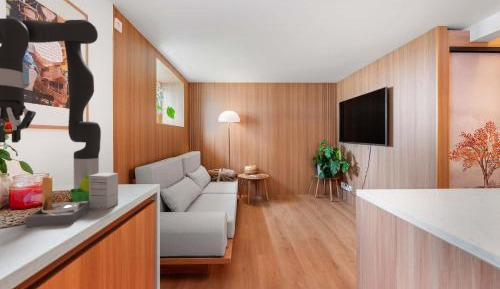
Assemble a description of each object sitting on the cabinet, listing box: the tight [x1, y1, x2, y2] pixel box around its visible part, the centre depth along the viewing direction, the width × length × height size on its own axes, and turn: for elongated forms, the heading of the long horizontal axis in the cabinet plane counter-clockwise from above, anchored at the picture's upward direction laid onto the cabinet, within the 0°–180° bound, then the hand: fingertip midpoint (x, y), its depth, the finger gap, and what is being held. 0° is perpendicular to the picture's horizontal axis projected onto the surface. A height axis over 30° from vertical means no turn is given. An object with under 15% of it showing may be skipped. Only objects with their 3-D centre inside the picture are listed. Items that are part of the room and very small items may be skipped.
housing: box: [25, 201, 91, 228], centre depth 82 cm, size 16×12×5 cm
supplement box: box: [89, 172, 119, 210], centre depth 96 cm, size 7×7×13 cm
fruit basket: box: [69, 176, 89, 202], centre depth 101 cm, size 11×9×11 cm
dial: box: [41, 176, 79, 214], centre depth 82 cm, size 10×10×12 cm
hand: (8, 142), depth 76 cm, fingers open, 3 cm apart
